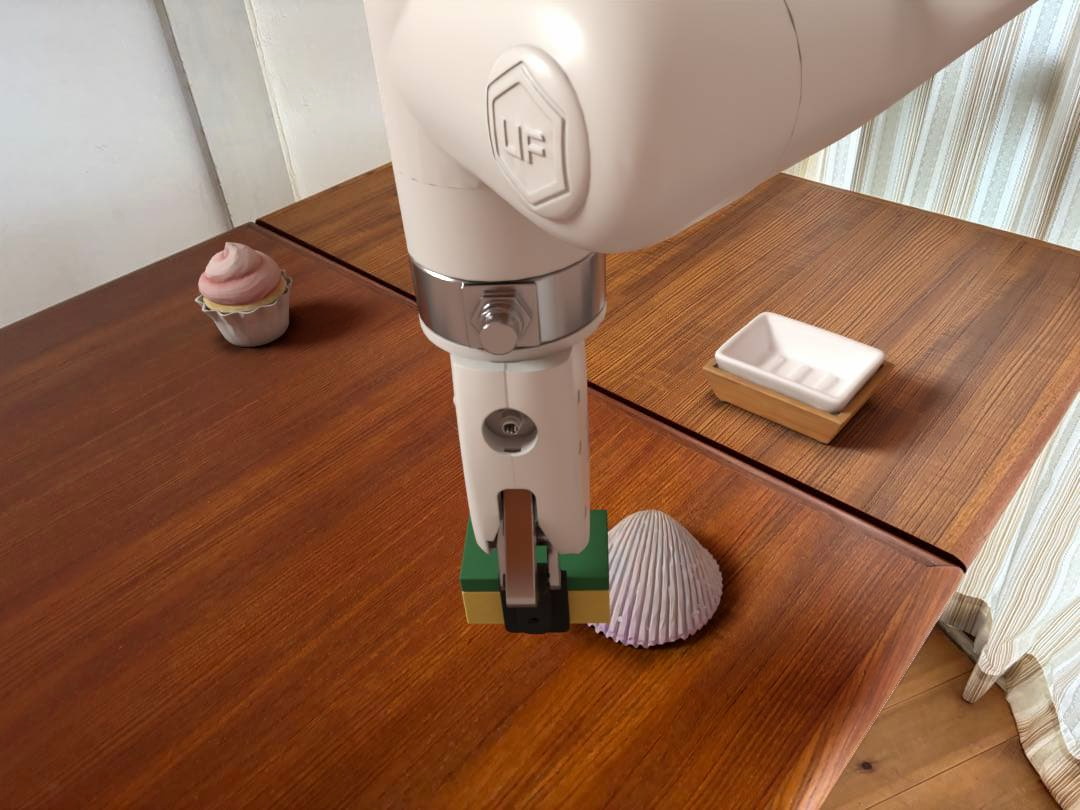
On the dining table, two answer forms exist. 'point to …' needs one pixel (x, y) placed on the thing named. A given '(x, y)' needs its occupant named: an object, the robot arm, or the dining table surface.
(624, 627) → the seashell
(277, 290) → the cupcake
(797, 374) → the soap dish
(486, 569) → the scrub sponge
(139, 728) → the dining table surface
